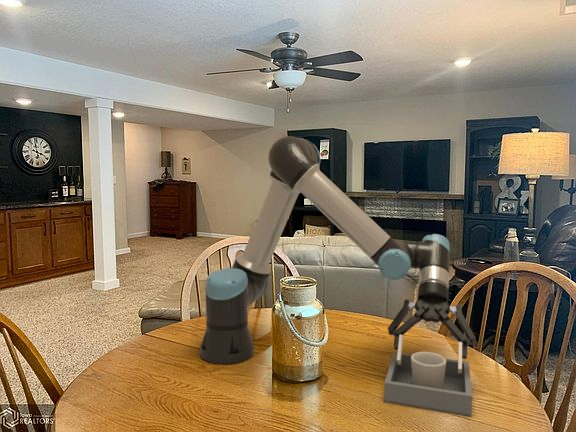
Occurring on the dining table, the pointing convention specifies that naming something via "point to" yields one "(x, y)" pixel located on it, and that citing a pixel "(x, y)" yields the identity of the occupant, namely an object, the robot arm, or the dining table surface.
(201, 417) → the dining table surface
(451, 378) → the tray
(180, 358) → the dining table surface
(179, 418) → the dining table surface
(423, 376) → the cup
